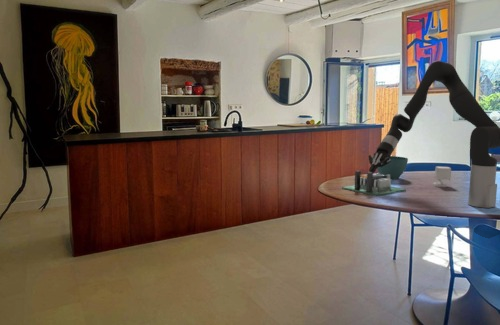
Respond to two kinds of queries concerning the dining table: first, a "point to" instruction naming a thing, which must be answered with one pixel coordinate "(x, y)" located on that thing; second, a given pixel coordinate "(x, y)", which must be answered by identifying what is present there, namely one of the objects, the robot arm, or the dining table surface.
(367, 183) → the heatsink board
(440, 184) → the security camera
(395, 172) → the plant pot
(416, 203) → the dining table surface
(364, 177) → the grey flat bar
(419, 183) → the dining table surface
